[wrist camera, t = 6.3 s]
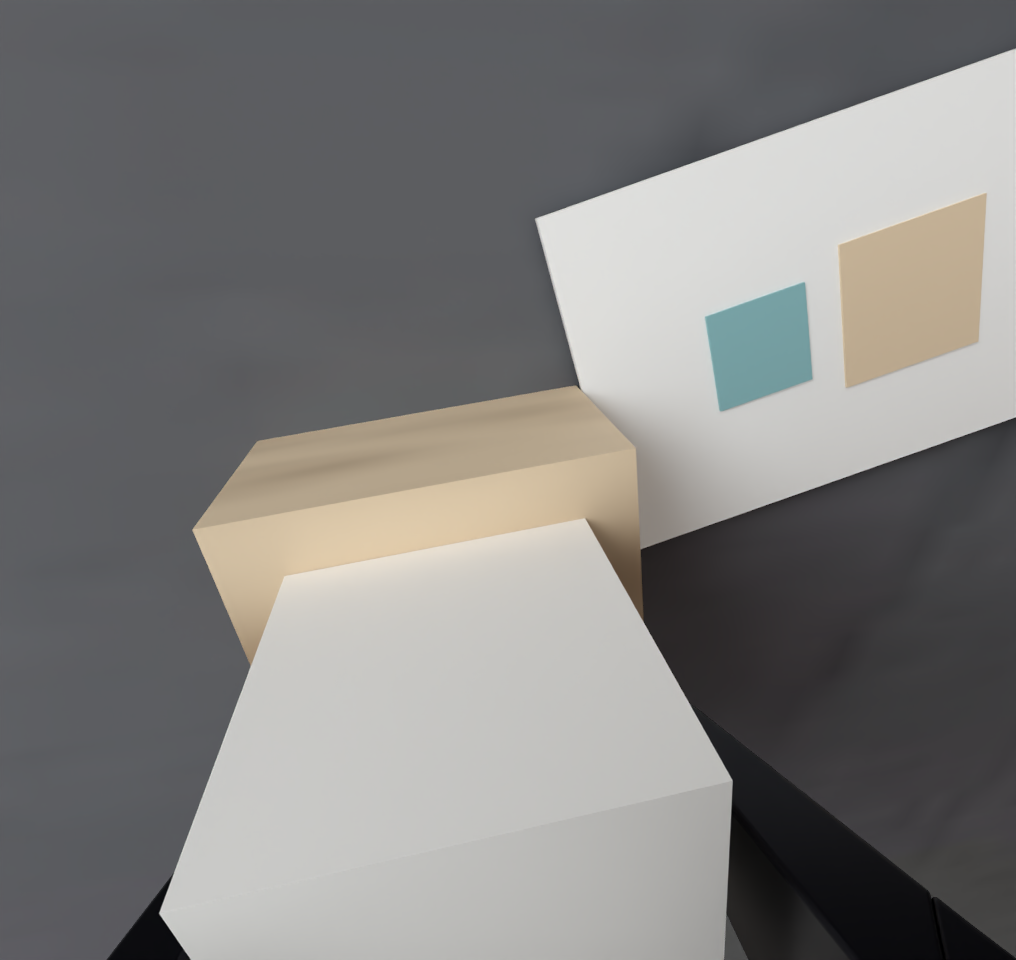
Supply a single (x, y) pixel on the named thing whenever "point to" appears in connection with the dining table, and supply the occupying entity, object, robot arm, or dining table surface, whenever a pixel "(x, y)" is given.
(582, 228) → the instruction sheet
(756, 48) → the dining table surface
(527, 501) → the oak base
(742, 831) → the robot arm
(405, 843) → the white cube
